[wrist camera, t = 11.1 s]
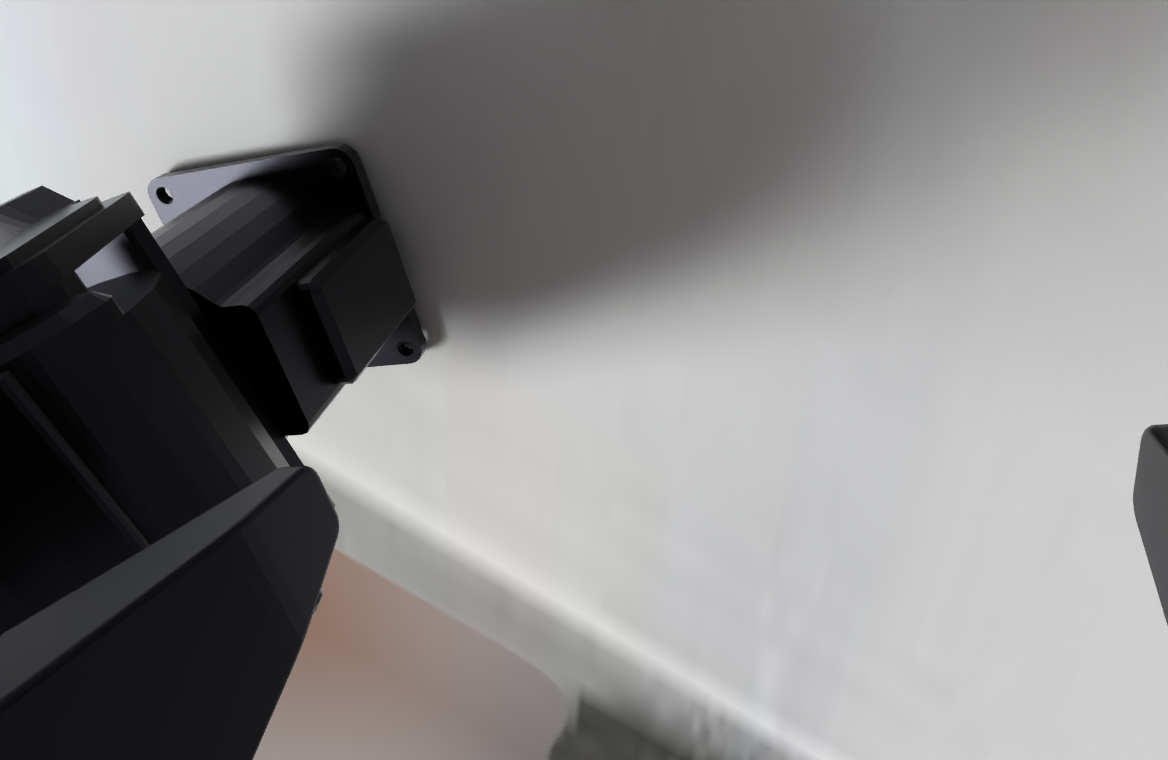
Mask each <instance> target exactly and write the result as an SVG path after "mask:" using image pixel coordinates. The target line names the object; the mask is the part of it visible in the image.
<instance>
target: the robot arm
mask: <svg viewBox="0 0 1168 760" xmlns="http://www.w3.org/2000/svg"><path fill="white" fill-rule="evenodd" d="M335 158H339V159H340V160H342V161H343V162H344V164H345V165H346V171H342V170H340V169H339V168H338V167H337V165H336V164H335ZM165 188H166V189H168V190H169V191H170V192H171V194H172V196H173V198H171V197H170V196H168V194H167V193H166V191H165ZM148 193H149V197H150V199H151V201H152V203H153V205H154V207H155V209H156V211H157V213H158V215H159V217H160V219H161V221H162V223H163V225H164V226H162V227H160V228H159V229H157V230H156V231H154V232H153V233H150V231H149V230H148V228H147V227H146V225H145V224H144V222H143V221H142V219H141V217H142V216H144V215H145V214H144V213H143V211H142V210H141V208H140V207H139V205H138V204H137V202H136V201H135V199H134V198H133V196H132V195H131V193H130V192H126V193H124V194H121V195H118V196H116V197H113V198H111V199H108V200H106V201H103V202H101V201H100V199H99V198H98V197H97V196H96V197H93V198H90V199H87V200H84V201H80V200H77V201H73V200H71V199H69V198H67V197H65V196H63V195H60V194H58V193H56V192H54V191H52V190H50V189H48V188H46V187H44V186H40V187H38V188H35V189H33V190H30V191H28V192H26V193H23V194H21V195H19V196H17V197H15V198H13V199H11V200H9V201H7V202H5V203H3V204H1V205H0V760H253V757H254V755H255V753H256V750H257V748H258V746H259V743H260V741H261V739H262V736H263V734H264V732H265V730H266V728H267V725H268V723H269V721H270V718H271V716H272V714H273V711H274V709H275V707H276V705H277V702H278V700H279V698H280V695H281V693H282V691H283V689H284V686H285V684H286V682H287V679H288V677H289V675H290V673H291V670H292V668H293V666H294V663H295V661H296V659H297V656H298V654H299V651H300V649H301V646H302V644H303V641H304V638H305V635H306V633H307V630H308V627H309V624H310V621H311V618H312V615H313V614H314V612H315V611H316V609H317V607H318V604H319V602H320V599H321V597H322V591H321V587H322V584H323V581H324V577H325V574H326V571H327V568H328V565H329V562H330V559H331V556H332V552H333V550H334V546H335V543H336V540H337V537H338V532H339V520H338V516H337V513H336V511H335V509H334V507H335V504H334V503H333V501H332V500H331V498H330V496H329V495H328V493H327V492H326V490H325V488H324V486H323V484H322V482H321V480H320V477H319V475H318V474H317V472H316V471H315V470H314V469H312V468H311V467H308V466H304V465H303V463H302V462H301V460H300V459H299V457H298V456H297V454H296V453H295V451H294V450H293V448H292V447H291V445H290V444H289V442H288V441H287V439H286V438H287V437H288V435H302V434H305V433H307V432H308V431H309V430H310V428H311V427H312V426H313V425H314V423H315V422H316V421H317V420H318V418H319V417H320V416H321V415H322V413H323V412H324V411H325V409H326V408H327V407H328V406H329V404H330V403H331V402H332V401H333V399H334V398H335V397H336V396H337V394H338V393H339V392H340V391H341V389H342V388H343V387H344V385H345V384H349V383H353V382H355V381H356V380H357V379H358V377H359V376H360V375H361V374H362V372H363V371H364V370H365V368H366V367H374V366H385V365H397V364H409V363H413V362H416V361H417V360H419V359H420V357H421V356H422V355H423V353H424V352H425V349H426V340H425V337H424V334H423V332H422V329H421V326H420V323H419V321H418V318H417V315H416V312H415V309H414V307H413V305H414V304H415V298H414V295H413V292H412V289H411V286H410V284H409V281H408V278H407V275H406V272H405V270H404V267H403V264H402V261H401V258H400V256H399V253H398V250H397V247H396V244H395V241H394V239H393V236H392V233H391V230H390V227H389V225H388V223H387V222H386V221H385V220H384V219H383V218H382V217H381V215H380V212H379V209H378V206H377V204H376V201H375V198H374V195H373V192H372V190H371V187H370V184H369V181H368V179H367V176H366V173H365V170H364V167H363V165H362V162H361V159H360V157H359V156H358V154H357V152H356V151H355V150H354V149H353V148H351V147H350V146H348V145H345V144H331V145H326V146H320V147H314V148H308V149H303V150H297V151H291V152H285V153H280V154H274V155H268V156H262V157H257V158H251V159H245V160H240V161H234V162H228V163H222V164H217V165H211V166H205V167H199V168H194V169H188V170H182V171H176V172H171V173H165V174H163V175H161V176H159V177H157V178H155V179H153V180H152V181H151V182H150V183H149V185H148ZM402 341H405V342H408V343H410V344H411V345H412V347H413V349H409V348H407V347H405V346H404V344H403V342H402ZM1133 505H1134V512H1135V517H1136V521H1137V524H1138V528H1139V531H1140V535H1141V538H1142V541H1143V545H1144V548H1145V551H1146V555H1147V558H1148V561H1149V565H1150V568H1151V571H1152V575H1153V578H1154V582H1155V585H1156V588H1157V592H1158V595H1159V598H1160V602H1161V605H1162V608H1163V612H1164V615H1165V618H1166V622H1167V625H1168V424H1162V425H1151V426H1150V427H1148V428H1147V429H1146V430H1145V431H1144V433H1143V435H1142V438H1141V443H1140V450H1139V457H1138V464H1137V471H1136V478H1135V484H1134V492H1133Z"/></svg>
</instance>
